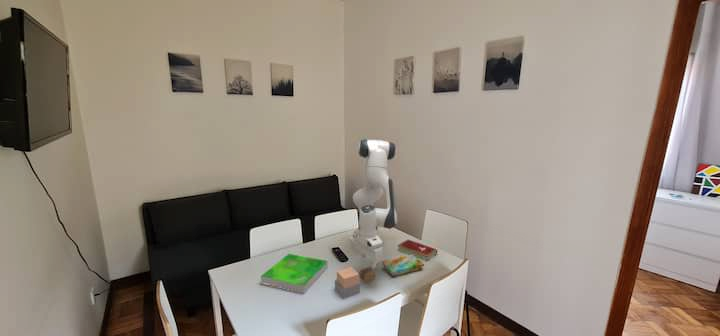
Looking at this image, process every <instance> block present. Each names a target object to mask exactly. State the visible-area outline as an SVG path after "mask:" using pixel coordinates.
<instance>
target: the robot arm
mask: <svg viewBox="0 0 720 336" xmlns="http://www.w3.org/2000/svg"><path fill="white" fill-rule="evenodd" d="M357 153H358V155H359V156H360V157H361V158H364V161H363V168H362V177H361V178H362V179H363V180H364V187H362V188H359V189H358V190H357V191H355V192H354V193H353V194H352V201H353V203H354V205H355V206H357V208H358V211H359V215H358V216H359V217H358V219H359V222H358V224H357V225H358V228H356V229H355V230H353V234H352V236H350V237H349V240H350V241H351V243H352V244H353V245H354V247H355V248H356V250H358V251H359V253H360V256H361V259H362V261H364V260H366V259H367V257H368V258H369V259H370V260H371V261H372V263H371V266H370V267H371V268H372V269H373V268H376V267H377V263H380V262H383V259H384V258H383V257H384V251H383V246H384V242H383V240H382V239H381V238H380V231H379V229H378V228H384V229H387V230H388V229H389V230H391V229H393V228H394V227H395V226H396V225H397V223H398V213H397V208H396V200H395V189H394V188H395V187H394V183H393V180H392V178H390V177H389V174H388V161H391V160H393V159H394V158H395V156H396V153H397V148H396V144H395V143H394V142H391V141H387V140H381V139H365V138H364V139H361V140H360V141H359V143H358V146H357ZM384 192H385V199H386V208H380V207H379V208H378V207H375V206H374V203H375V202H377V201H378V200H380V199H381V197H383V195H384Z"/></svg>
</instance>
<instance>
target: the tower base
mask: <svg viewBox="0 0 720 336" xmlns="http://www.w3.org/2000/svg"><path fill="white" fill-rule="evenodd" d="M334 289H335V291H336V292H337V293H338V294H339V296H341V298H342V299H347V298H349V297H351V296H355V295H357V294H360V293H361V283H360V282H359V284H357V285H354V286H351V287H348V288H345V289H344V288H343V287H342V286H341V285H340V283H339V282H338V281H337V279H334Z"/></svg>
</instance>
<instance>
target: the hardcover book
mask: <svg viewBox="0 0 720 336" xmlns="http://www.w3.org/2000/svg"><path fill="white" fill-rule="evenodd" d="M396 246H397V251H399V252H402V253H404V254H407V255H408V256H409V255H413V256H415V257H416V258H417V259H418V260H421V261H422V260H423V261H426V262H428V261H429V260H430V259H432V258H433V257H434V255H435V254H437V255H438V249H437V248H434V247H431V246H428V245H425V244H423V243H419V242H417V241H414V240H411V239H406V240H405V241H403V242H401V243H398V244H397V245H396ZM435 256H436V255H435ZM431 257H432V258H431Z"/></svg>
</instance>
